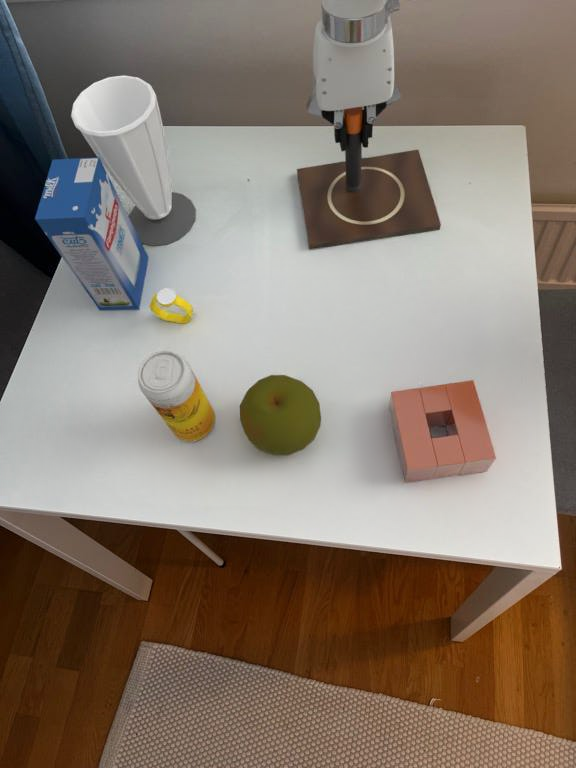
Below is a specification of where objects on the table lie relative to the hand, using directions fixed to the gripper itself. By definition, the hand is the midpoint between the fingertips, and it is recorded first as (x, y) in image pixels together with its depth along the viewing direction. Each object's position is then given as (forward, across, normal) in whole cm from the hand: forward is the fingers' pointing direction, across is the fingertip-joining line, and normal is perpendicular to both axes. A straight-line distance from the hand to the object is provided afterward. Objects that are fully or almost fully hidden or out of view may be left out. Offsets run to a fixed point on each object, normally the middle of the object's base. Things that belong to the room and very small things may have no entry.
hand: (353, 141), depth 84 cm
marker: (+9, 0, 0) cm, 9 cm away
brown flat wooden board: (+10, -2, +2) cm, 10 cm away
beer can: (+10, +27, +36) cm, 46 cm away
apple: (+10, +15, +39) cm, 43 cm away
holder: (+10, -4, +43) cm, 44 cm away
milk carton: (+10, +37, +11) cm, 40 cm away
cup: (+10, +31, -1) cm, 33 cm away
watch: (+10, +29, +19) cm, 36 cm away
